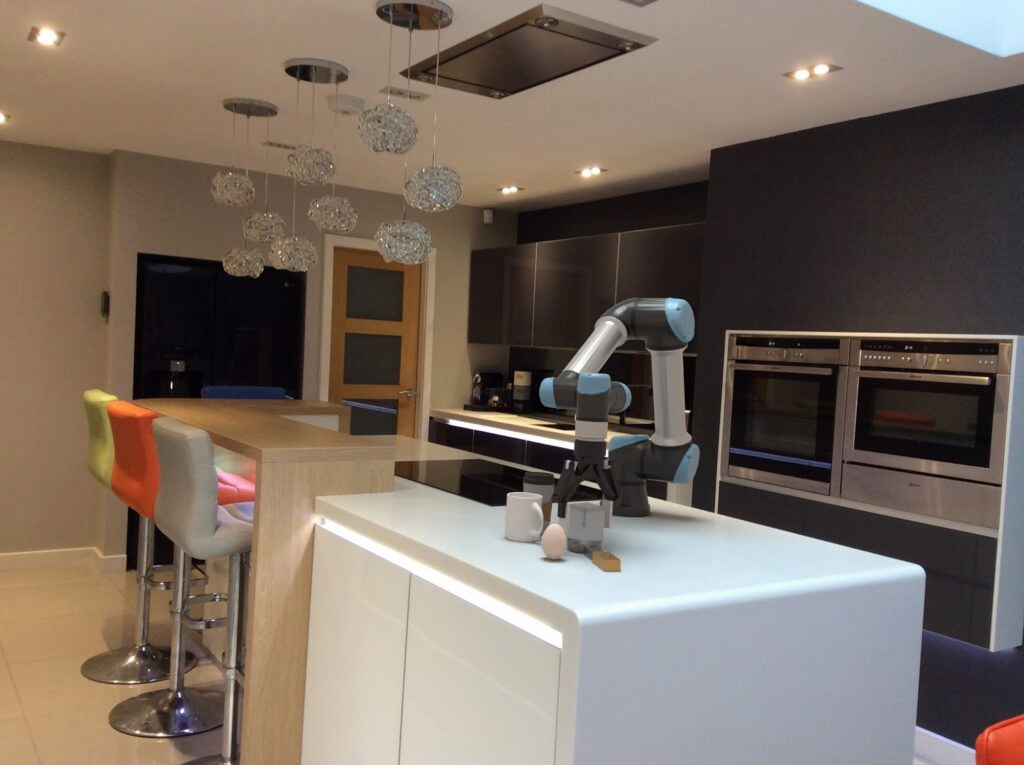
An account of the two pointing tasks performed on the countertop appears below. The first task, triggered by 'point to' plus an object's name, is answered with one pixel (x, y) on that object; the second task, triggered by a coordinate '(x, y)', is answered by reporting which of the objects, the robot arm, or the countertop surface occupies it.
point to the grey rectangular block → (586, 522)
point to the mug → (523, 517)
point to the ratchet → (595, 554)
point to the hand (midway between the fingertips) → (585, 529)
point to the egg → (554, 541)
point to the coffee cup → (541, 492)
